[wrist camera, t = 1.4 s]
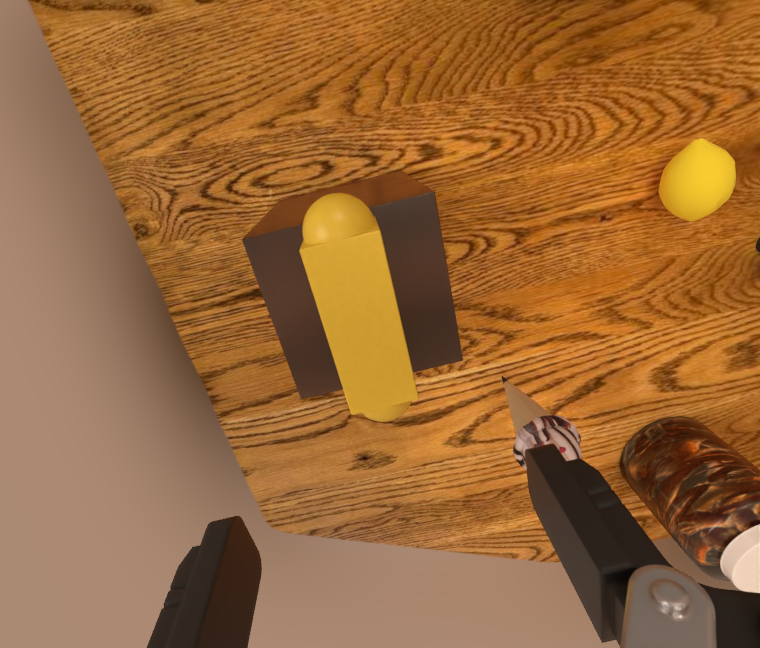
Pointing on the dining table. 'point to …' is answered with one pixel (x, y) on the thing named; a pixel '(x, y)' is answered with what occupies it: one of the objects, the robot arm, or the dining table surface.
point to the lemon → (697, 180)
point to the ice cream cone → (539, 427)
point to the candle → (758, 245)
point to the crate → (406, 264)
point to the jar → (700, 496)
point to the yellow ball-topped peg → (358, 306)
